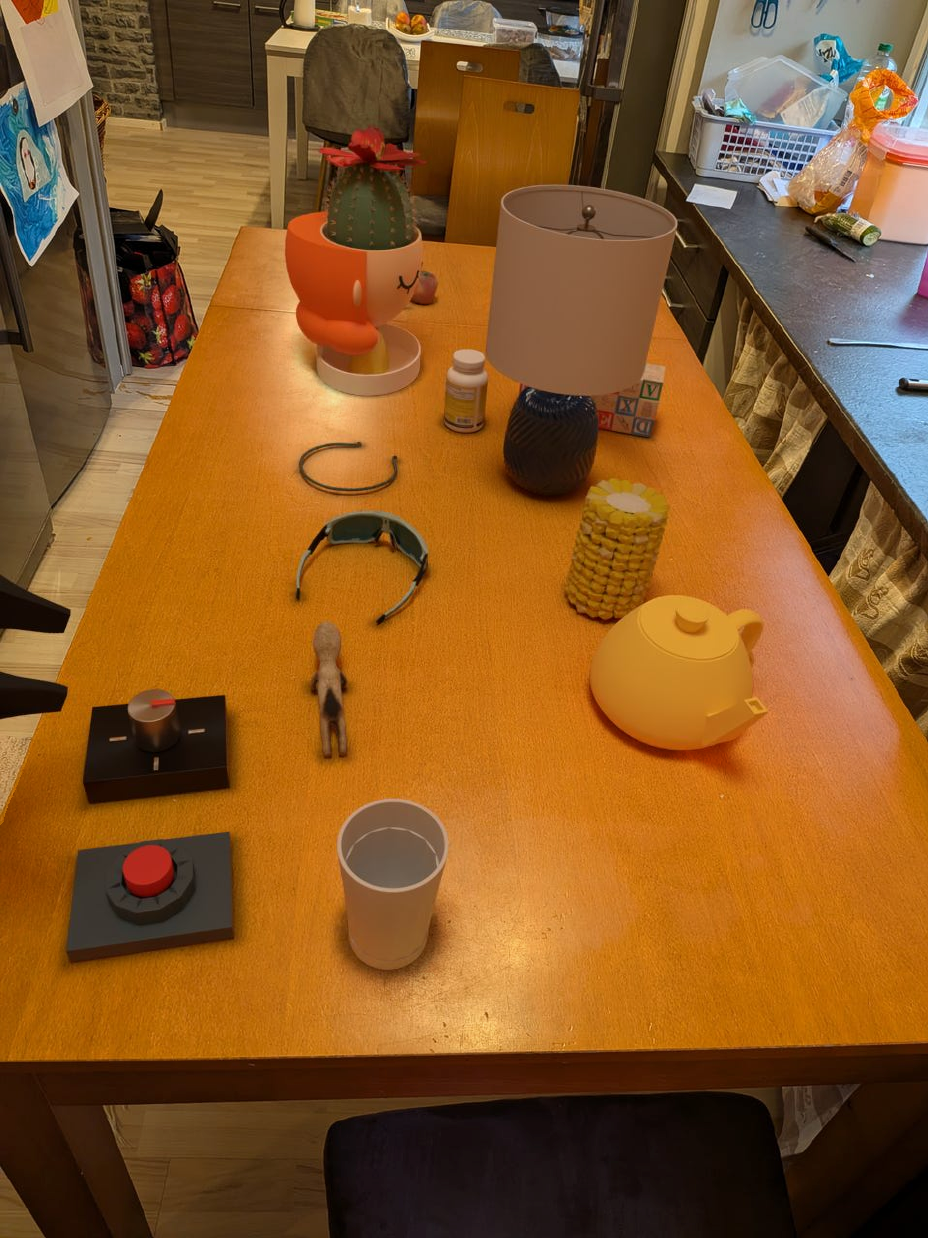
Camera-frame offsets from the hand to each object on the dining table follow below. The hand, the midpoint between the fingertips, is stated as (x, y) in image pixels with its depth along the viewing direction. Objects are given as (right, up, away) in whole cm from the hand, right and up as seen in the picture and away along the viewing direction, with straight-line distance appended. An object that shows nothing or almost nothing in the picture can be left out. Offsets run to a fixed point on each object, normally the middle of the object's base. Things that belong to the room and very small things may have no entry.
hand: (66, 658), depth 65 cm
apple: (+20, +64, +108) cm, 127 cm away
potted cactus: (+11, +45, +84) cm, 96 cm away
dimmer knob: (+1, -8, +16) cm, 18 cm away
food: (+46, +5, +42) cm, 63 cm away
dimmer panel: (+1, -10, +18) cm, 21 cm away
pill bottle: (+29, +32, +72) cm, 84 cm away
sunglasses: (+17, +8, +41) cm, 45 cm away
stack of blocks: (+48, +35, +77) cm, 97 cm away
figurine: (+15, -6, +26) cm, 30 cm away
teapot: (+52, -7, +29) cm, 60 cm away
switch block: (+4, -20, +7) cm, 21 cm away
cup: (+23, -22, +7) cm, 33 cm away
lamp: (+40, +22, +61) cm, 77 cm away
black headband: (+13, +23, +59) cm, 65 cm away
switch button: (+4, -17, +5) cm, 19 cm away
